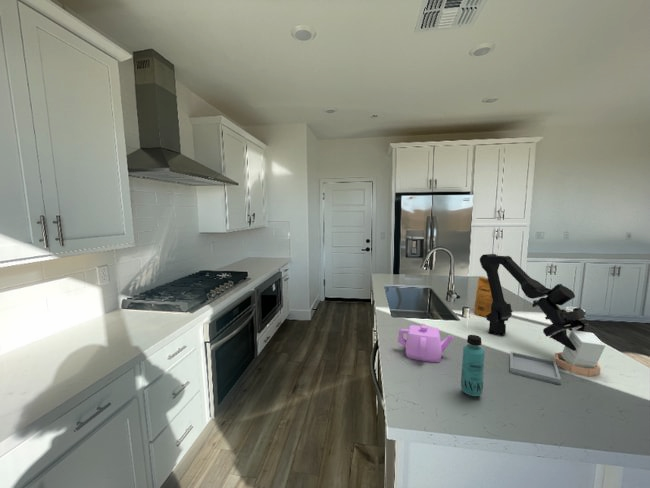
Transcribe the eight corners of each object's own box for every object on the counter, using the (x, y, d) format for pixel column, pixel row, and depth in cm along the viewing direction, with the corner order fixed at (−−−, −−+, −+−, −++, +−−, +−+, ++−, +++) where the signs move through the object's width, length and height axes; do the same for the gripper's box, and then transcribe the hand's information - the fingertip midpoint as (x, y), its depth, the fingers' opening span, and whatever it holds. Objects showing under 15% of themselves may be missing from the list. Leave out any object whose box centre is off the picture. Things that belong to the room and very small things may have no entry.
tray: (510, 372, 106) (510, 367, 105) (510, 355, 118) (510, 351, 118) (560, 385, 98) (561, 379, 98) (555, 365, 110) (555, 360, 110)
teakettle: (394, 350, 125) (395, 322, 123) (423, 341, 132) (424, 316, 131) (423, 368, 109) (424, 338, 108) (454, 358, 117) (455, 329, 115)
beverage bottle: (456, 389, 96) (458, 332, 94) (475, 387, 97) (477, 331, 95) (467, 401, 90) (470, 341, 88) (487, 400, 90) (490, 340, 88)
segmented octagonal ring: (557, 369, 108) (557, 362, 107) (553, 355, 118) (553, 349, 118) (602, 379, 101) (603, 372, 100) (594, 363, 111) (594, 357, 111)
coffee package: (477, 310, 173) (479, 274, 170) (500, 315, 164) (502, 278, 161) (471, 314, 166) (473, 277, 163) (495, 320, 157) (497, 281, 155)
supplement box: (581, 358, 111) (593, 332, 107) (593, 373, 105) (606, 345, 100) (560, 355, 113) (571, 329, 109) (570, 368, 106) (582, 341, 102)
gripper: (552, 303, 107) (586, 343, 98) (584, 298, 113) (618, 335, 104) (530, 317, 115) (560, 355, 106) (561, 312, 121) (591, 347, 112)
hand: (583, 348), depth 106 cm, fingers closed on supplement box, 9 cm apart
